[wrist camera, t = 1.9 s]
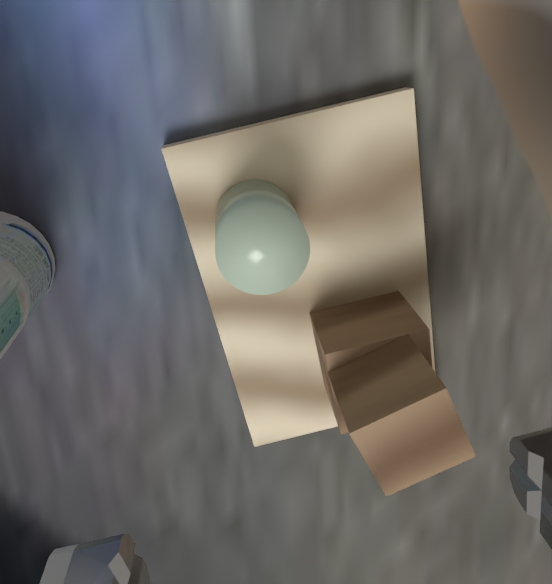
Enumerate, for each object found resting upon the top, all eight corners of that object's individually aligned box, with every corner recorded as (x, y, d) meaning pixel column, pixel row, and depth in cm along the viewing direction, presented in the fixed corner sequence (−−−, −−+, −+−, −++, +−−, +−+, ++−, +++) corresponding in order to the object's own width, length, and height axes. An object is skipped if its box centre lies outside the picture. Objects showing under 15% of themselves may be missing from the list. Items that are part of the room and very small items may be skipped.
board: (163, 145, 27) (161, 148, 26) (405, 87, 27) (413, 88, 26) (253, 435, 37) (254, 446, 36) (431, 391, 37) (437, 401, 36)
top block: (327, 372, 27) (349, 433, 23) (407, 333, 27) (446, 388, 22) (360, 430, 30) (386, 496, 25) (435, 395, 29) (475, 456, 25)
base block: (309, 312, 31) (325, 354, 27) (398, 290, 31) (429, 329, 27) (324, 385, 34) (340, 434, 29) (406, 364, 34) (435, 411, 30)
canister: (205, 189, 27) (203, 218, 22) (285, 170, 27) (300, 195, 22) (226, 263, 29) (228, 304, 24) (300, 245, 29) (317, 282, 24)
